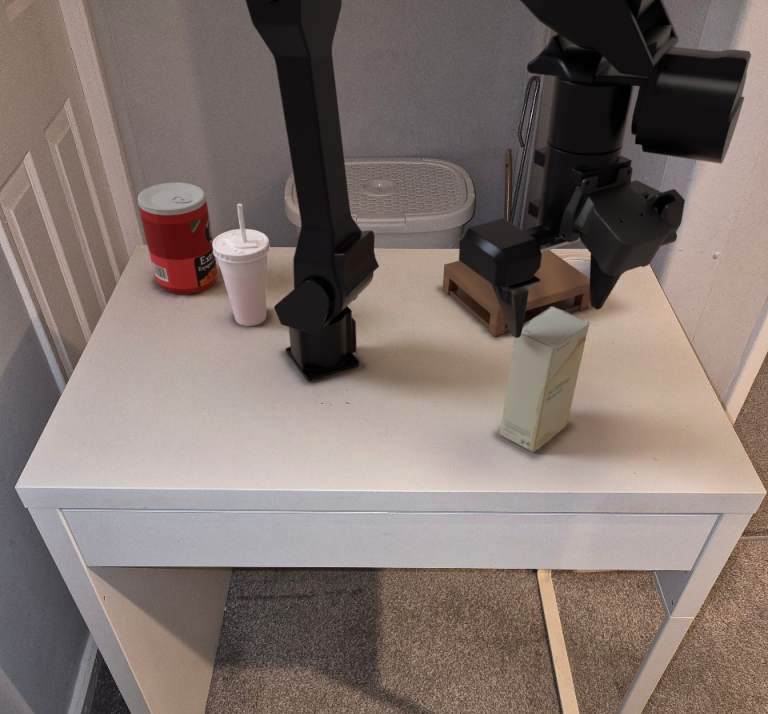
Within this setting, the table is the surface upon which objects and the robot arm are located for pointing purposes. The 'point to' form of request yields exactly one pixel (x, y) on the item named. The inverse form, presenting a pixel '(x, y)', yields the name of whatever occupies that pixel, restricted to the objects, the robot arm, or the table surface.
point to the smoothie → (244, 270)
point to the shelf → (554, 290)
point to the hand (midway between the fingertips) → (556, 321)
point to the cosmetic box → (543, 377)
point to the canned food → (178, 237)
